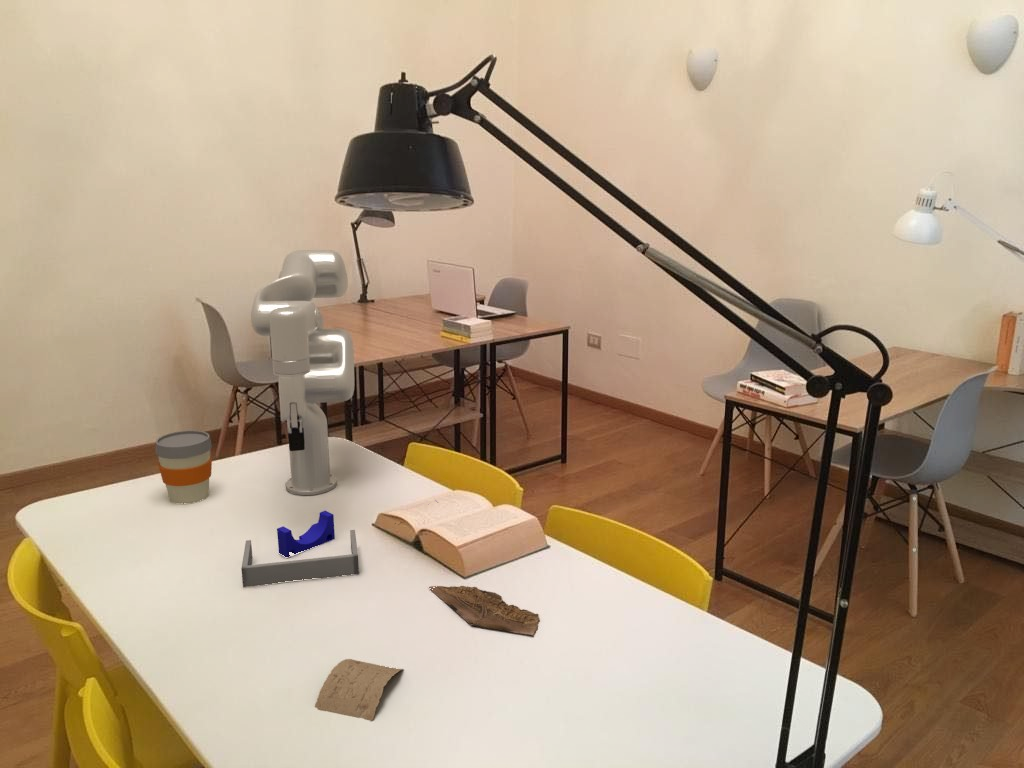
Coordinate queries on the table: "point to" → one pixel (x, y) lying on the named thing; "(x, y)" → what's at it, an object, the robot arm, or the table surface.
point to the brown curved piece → (354, 688)
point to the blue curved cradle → (307, 535)
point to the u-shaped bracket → (298, 567)
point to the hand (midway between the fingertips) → (297, 447)
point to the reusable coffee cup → (185, 465)
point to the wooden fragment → (487, 609)
